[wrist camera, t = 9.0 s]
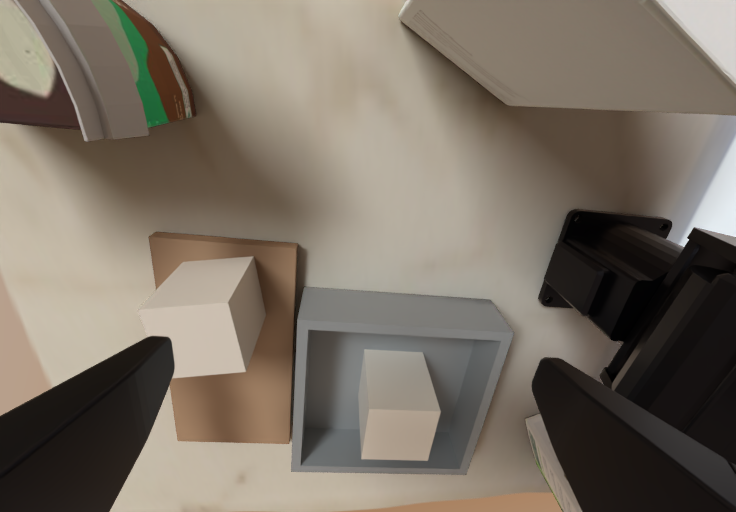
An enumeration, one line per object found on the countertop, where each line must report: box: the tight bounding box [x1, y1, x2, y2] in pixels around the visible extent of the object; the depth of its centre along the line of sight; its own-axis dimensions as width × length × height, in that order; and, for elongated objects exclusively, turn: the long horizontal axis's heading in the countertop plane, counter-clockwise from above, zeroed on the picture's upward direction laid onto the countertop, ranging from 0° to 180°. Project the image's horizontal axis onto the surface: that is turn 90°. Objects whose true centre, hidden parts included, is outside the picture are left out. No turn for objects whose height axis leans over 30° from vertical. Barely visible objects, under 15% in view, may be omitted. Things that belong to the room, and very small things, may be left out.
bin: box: [291, 287, 514, 475], centre depth 24 cm, size 12×12×4 cm
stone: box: [358, 349, 441, 461], centre depth 23 cm, size 4×4×5 cm
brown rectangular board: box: [149, 232, 298, 444], centre depth 24 cm, size 8×16×1 cm, turn 173°
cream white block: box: [137, 256, 266, 378], centre depth 19 cm, size 4×4×5 cm
